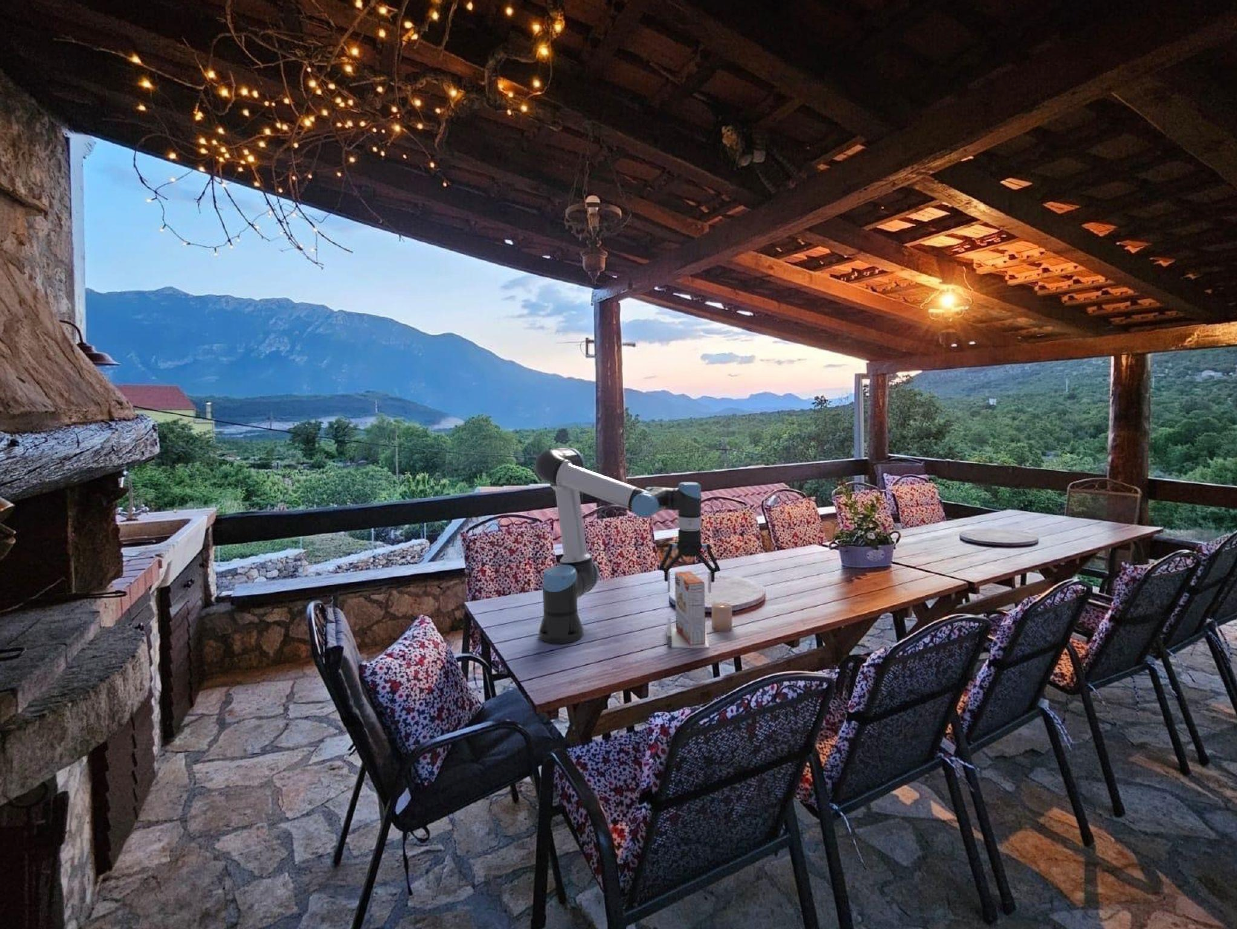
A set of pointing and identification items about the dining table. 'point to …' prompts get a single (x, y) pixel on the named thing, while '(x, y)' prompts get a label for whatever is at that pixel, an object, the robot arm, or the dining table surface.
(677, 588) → the cracker box
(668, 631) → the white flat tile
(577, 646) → the dining table surface
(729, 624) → the peach domed knob
